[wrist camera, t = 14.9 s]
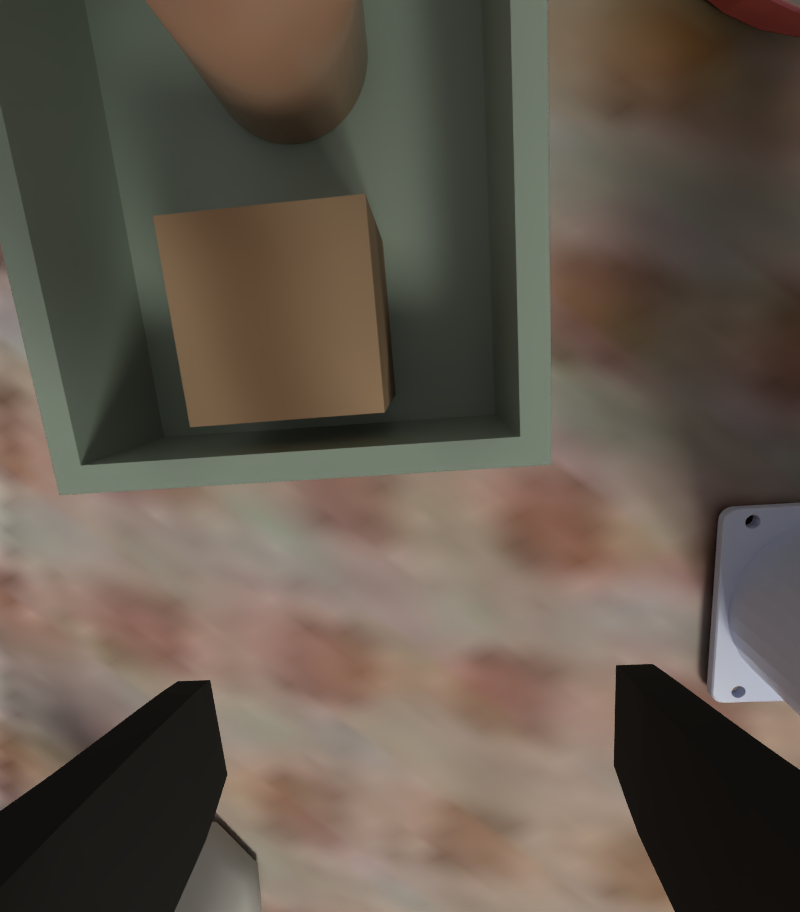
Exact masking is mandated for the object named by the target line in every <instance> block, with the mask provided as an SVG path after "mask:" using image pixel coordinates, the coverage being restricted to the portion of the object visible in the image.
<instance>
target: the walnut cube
mask: <svg viewBox="0 0 800 912" xmlns="http://www.w3.org/2000/svg"><path fill="white" fill-rule="evenodd" d="M153 220H154V225H155V231H156V237H157V242H158V248H159V254H160V259H161V265H162V271H163V276H164V282H165V288H166V293H167V299H168V305H169V310H170V316H171V322H172V328H173V333H174V339H175V345H176V350H177V356H178V362H179V367H180V373H181V379H182V384H183V390H184V396H185V401H186V407H187V413H188V418H189V424H190V427H201V426H214V425H227V424H240V423H253V422H266V421H279V420H293V419H306V418H319V417H332V416H345V415H358V414H371V413H385V411H386V409H387V408H388V406H389V405H390V403H391V401H392V400H393V398H394V396H395V395H396V392H395V380H394V368H393V356H392V344H391V332H390V320H389V308H388V296H387V284H386V272H385V260H384V248H383V241H382V238H381V235H380V232H379V230H378V227H377V224H376V222H375V219H374V216H373V213H372V211H371V208H370V205H369V203H368V200H367V197H366V195H365V194H357V195H347V196H338V197H328V198H319V199H309V200H300V201H290V202H281V203H271V204H262V205H252V206H243V207H233V208H223V209H214V210H204V211H195V212H185V213H176V214H166V215H157V216H153Z"/></svg>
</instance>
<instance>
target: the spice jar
mask: <svg viewBox="0 0 800 912" xmlns="http://www.w3.org/2000/svg"><path fill="white" fill-rule="evenodd" d="M145 1H146V2H147V4H148V5H149V6H150V8H151V9H152V10H153V12H154V13H155V15H156V16H157V17H158V19H159V20H160V21H161V23H162V24H163V25H164V27H165V28H166V30H167V31H168V32H169V34H170V35H171V36H172V38H173V39H174V40H175V42H176V43H177V45H178V46H179V47H180V49H181V50H182V51H183V53H184V54H185V55H186V57H187V58H188V60H189V61H190V62H191V64H192V65H193V66H194V68H195V69H196V70H197V72H198V73H199V75H200V76H201V77H202V79H203V80H204V81H205V83H206V84H207V86H208V87H209V88H210V90H211V91H212V92H213V94H214V95H215V96H216V98H217V99H218V101H219V102H220V103H221V105H222V106H223V107H224V109H225V110H226V111H227V113H228V114H229V115H230V116H231V117H232V118H233V119H234V120H235V121H236V122H237V123H238V124H239V125H240V126H242V127H243V128H244V129H246V130H247V131H249V132H250V133H252V134H253V135H255V136H257V137H260V138H262V139H264V140H267V141H271V142H274V143H280V144H299V143H305V142H309V141H312V140H315V139H317V138H320V137H322V136H324V135H325V134H327V133H329V132H330V131H332V130H333V129H334V128H335V127H337V126H338V125H339V124H340V123H341V122H342V121H343V120H344V119H345V118H346V117H347V115H348V114H349V113H350V111H351V110H352V108H353V107H354V105H355V103H356V101H357V99H358V97H359V95H360V93H361V90H362V87H363V85H364V80H365V76H366V71H367V63H368V45H367V36H366V27H365V18H364V9H363V0H145Z"/></svg>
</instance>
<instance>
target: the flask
mask: <svg viewBox="0 0 800 912" xmlns="http://www.w3.org/2000/svg"><path fill="white" fill-rule="evenodd" d="M174 912H262V909H261V898H260V887H259V876H258V864H257V862H256V861H255V860H254V859H253V858H252V857H251V856H250V855H249V854H248V853H247V852H246V851H245V850H244V849H243V848H242V847H241V846H240V845H239V844H238V843H237V842H236V841H235V840H234V839H233V838H232V837H231V836H230V835H229V834H228V833H227V832H226V831H225V830H224V829H223V828H222V827H221V826H220V825H219V824H218V823H217V822H212V824H211V827H210V830H209V833H208V836H207V839H206V841H205V844H204V846H203V848H202V850H201V853H200V855H199V857H198V860H197V862H196V864H195V866H194V869H193V871H192V873H191V875H190V878H189V880H188V882H187V885H186V887H185V889H184V891H183V894H182V896H181V898H180V900H179V902H178V905H177V907H176V909H175V911H174Z"/></svg>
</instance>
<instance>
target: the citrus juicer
mask: <svg viewBox="0 0 800 912" xmlns="http://www.w3.org/2000/svg"><path fill="white" fill-rule="evenodd" d="M708 1H709V2H711V3H712V4H713V5H714V6H716V7H717V8H718V9H719V10H721V11H722V12H723V13H724V14H727V15H729V16H731V17H733V18H735V19H737V20H740V21H742V22H744V23H746V24H748V25H750V26H753V27H755V28H757V29H760V30H765V31H770V32H775V33H780V34H785V35H790V36H796V37H800V0H708Z"/></svg>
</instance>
